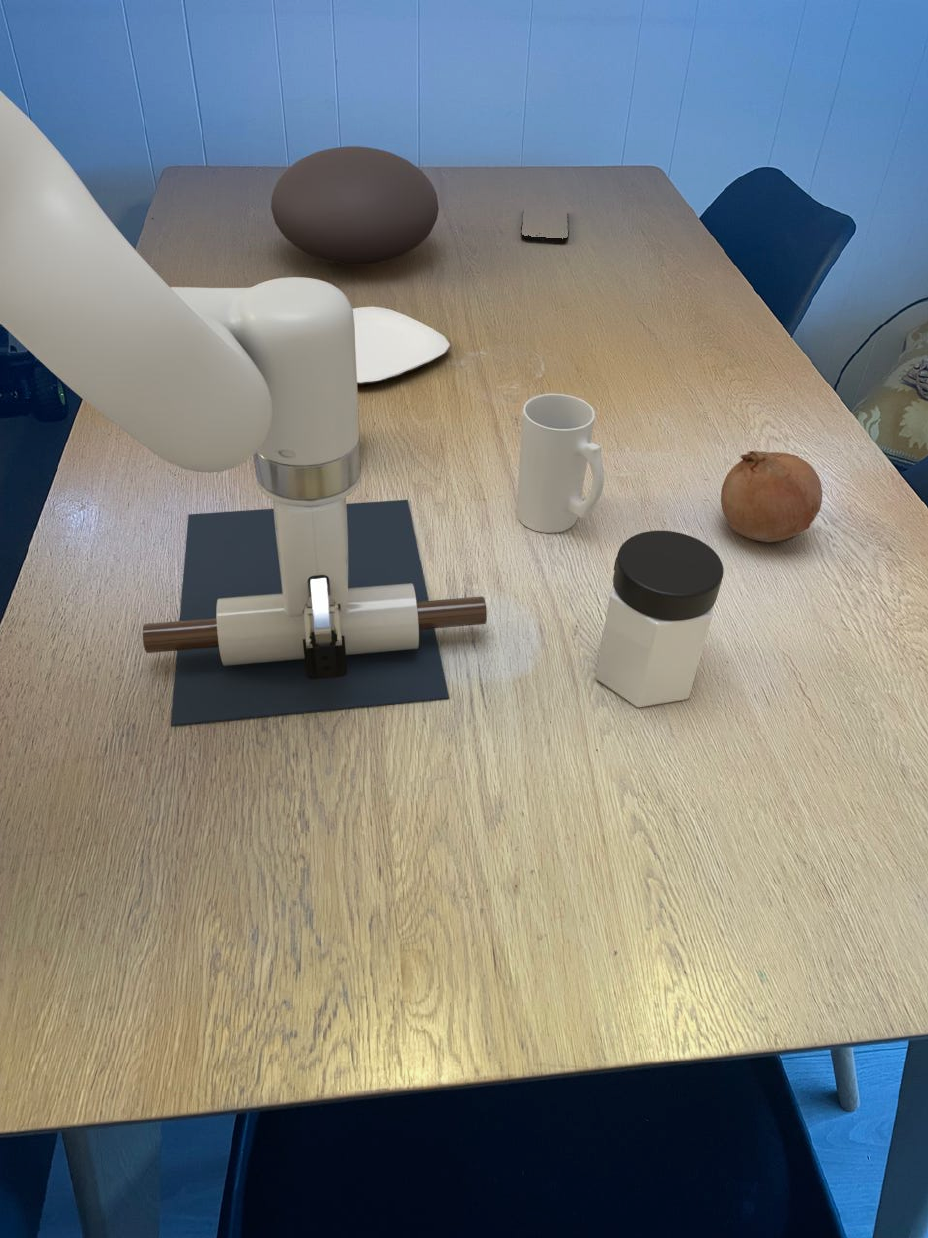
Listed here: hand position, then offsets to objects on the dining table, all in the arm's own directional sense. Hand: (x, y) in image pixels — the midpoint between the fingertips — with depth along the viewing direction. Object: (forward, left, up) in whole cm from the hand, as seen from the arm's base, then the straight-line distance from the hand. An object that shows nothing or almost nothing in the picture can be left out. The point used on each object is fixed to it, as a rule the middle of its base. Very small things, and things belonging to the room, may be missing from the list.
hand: (323, 634), depth 78 cm
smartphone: (+95, +47, -2) cm, 106 cm away
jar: (+17, -22, -2) cm, 27 cm away
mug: (+29, -4, -2) cm, 29 cm away
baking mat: (+4, +6, -2) cm, 8 cm away
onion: (+42, -20, -2) cm, 46 cm away
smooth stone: (+64, +60, -2) cm, 88 cm away
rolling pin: (0, 0, -2) cm, 2 cm away
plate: (+42, +36, -2) cm, 55 cm away
